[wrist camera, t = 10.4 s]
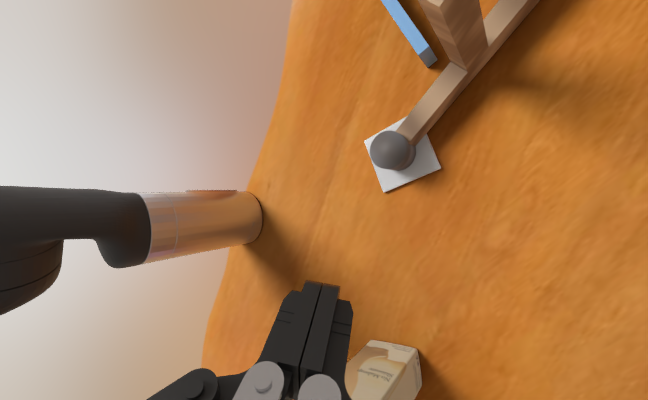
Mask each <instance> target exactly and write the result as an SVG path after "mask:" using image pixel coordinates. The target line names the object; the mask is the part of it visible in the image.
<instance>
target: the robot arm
mask: <svg viewBox="0 0 648 400" xmlns="http://www.w3.org/2000/svg"><path fill="white" fill-rule="evenodd" d="M261 228H262V211H261V207H260V204H259V202H258V200H257V199H256V198H255V197H254V196H253V195H252V194H251V193H249V192H238V191H237V190H187V191H185V192H166V193H165V192H159V193H121V192H113V191H106V190H97V189H64V188H63V189H62V188H40V187H39V188H38V187H18V186H17V187H16V186H0V315H2V314H5V313H7V312H9V311H11V310H13V309H15V308H17V307H19V306H21V305H23V304H25V303H27V302H29V301H30V300H32V299H34V298H35V297H37V296H39V295H40V294H42V293H43V292H44V291H46V290H47V289H48V288H49V287H50V286H51V285H52V284H53V283H54V282H55V280H56V278H57V277H58V274H59V272H60V268H61V263H62V253H63V242H64V239H94V240H95V241H96V243H97V245H98V248H99V250H100V253H101V255H102V256H103V258H104V260H105V262H106V263H107V264H108V265H109V266H111V267H113V268H126V267H131V266H136V265H140V264H145V263H151V262H155V261H160V260H165V259H170V258H175V257H180V256H185V255H191V254H196V253H200V252H205V251H211V250H216V249H221V248H226V247H231V246H236V245H241V244H246V243H250V242H253V241H254V240H255V239H256V238H257V237H258V235H259V234H260V231H261ZM339 293H340V286H336V285H330V284H325V283H324V284H323V283H319V282H314V281H309V280H306V282H305V284H304V287H303V290H302V292H298V291H293V290H292V291H291V292H290V293H289V294H288V295H287V296H286V297H285V298H284V300H283V302H282V305H281V307H280V309H279V312H278V314H277V317H276V320H275V322H274V324H273V326H272V329H271V331H270V334H269V336H268V338H267V341H266V343H265V346H264V348H263V351H262V353H261V355H260V357H259V359H258V361H257V362H256V363H255V364H254V365H253V366H252V367H251V368H250V369H248V370H247V371H245V372H243V373H240V374H236V375H228V376H220V377H216V375H215V374H214V373H213V372H212V371H211V370H209V369H205V368H200V369H196V370H193V371H191V372H189V373H187V374H186V375H184V376H183V377H181V378H180V379H178V380H177V381H175V382H173V383H172V384H170V385H169V386H167V387H165V388H164V389H162V390H161V391H159V392H158V393H156V394H154V395H153V396H151V397H150V398H148V399H147V400H292V399H294V400H352V399H351V398H350V396H349V394H348V392H347V390H346V386H345V370H346V363H347V355H348V348H349V341H350V333H351V326H352V319H353V310H352V307H351V304H350V301H345V300H340V299H339Z"/></svg>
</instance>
